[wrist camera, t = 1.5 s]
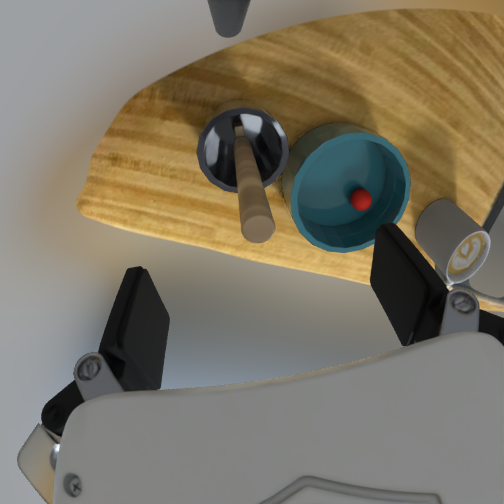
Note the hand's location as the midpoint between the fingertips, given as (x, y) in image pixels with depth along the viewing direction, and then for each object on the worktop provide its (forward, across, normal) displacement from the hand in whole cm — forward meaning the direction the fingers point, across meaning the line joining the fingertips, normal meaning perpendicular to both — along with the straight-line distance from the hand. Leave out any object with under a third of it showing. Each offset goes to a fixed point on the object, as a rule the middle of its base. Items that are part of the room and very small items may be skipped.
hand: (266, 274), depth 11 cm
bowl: (+26, -12, +8) cm, 29 cm away
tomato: (+23, -15, +10) cm, 29 cm away
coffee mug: (+26, -31, +20) cm, 45 cm away
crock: (+26, 0, 0) cm, 26 cm away
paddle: (+25, 0, 0) cm, 25 cm away
